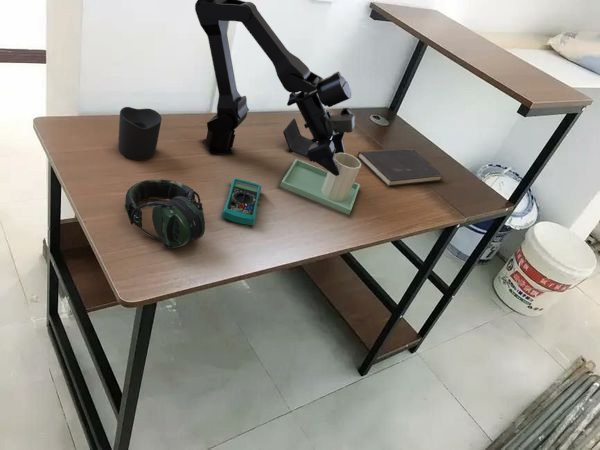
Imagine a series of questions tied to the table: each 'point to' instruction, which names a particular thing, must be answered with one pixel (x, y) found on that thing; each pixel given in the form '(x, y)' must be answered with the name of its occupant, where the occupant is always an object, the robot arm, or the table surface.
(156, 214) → the headphones
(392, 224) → the table surface
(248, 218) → the digital multimeter
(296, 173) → the tray
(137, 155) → the pen holder
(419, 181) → the hardcover book
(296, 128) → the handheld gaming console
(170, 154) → the table surface
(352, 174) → the cup
